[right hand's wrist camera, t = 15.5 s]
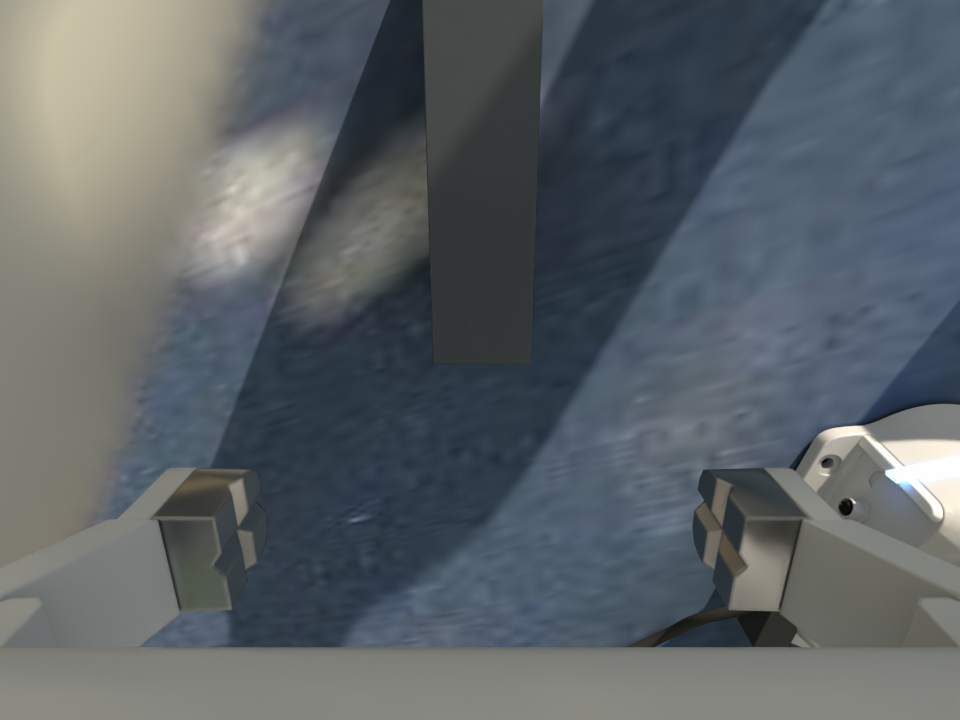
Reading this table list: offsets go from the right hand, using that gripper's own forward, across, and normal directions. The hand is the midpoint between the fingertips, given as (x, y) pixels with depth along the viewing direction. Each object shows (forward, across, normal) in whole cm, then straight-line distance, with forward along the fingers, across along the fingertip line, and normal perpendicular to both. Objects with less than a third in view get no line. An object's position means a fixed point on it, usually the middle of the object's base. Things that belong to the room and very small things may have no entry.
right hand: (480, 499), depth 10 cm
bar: (+26, 0, +8) cm, 27 cm away
